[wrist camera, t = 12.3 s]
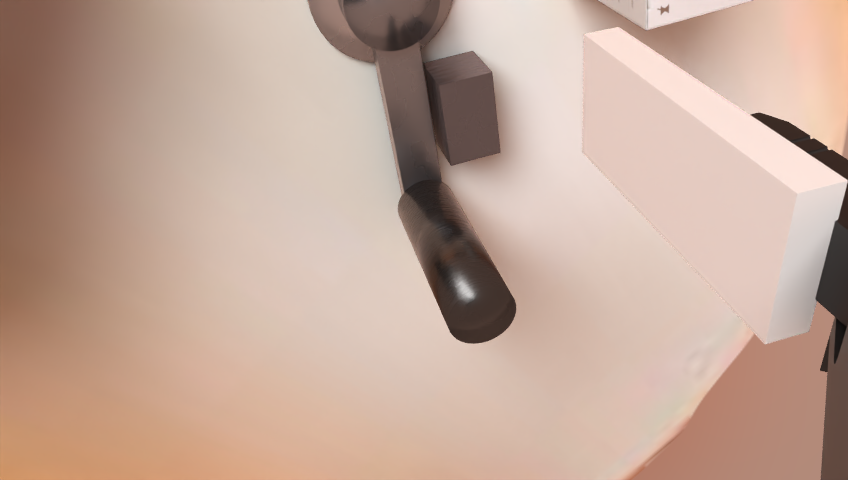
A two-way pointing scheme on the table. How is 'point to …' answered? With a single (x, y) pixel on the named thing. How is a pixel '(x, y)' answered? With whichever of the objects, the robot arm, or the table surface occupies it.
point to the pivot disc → (344, 39)
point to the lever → (418, 162)
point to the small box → (666, 10)
